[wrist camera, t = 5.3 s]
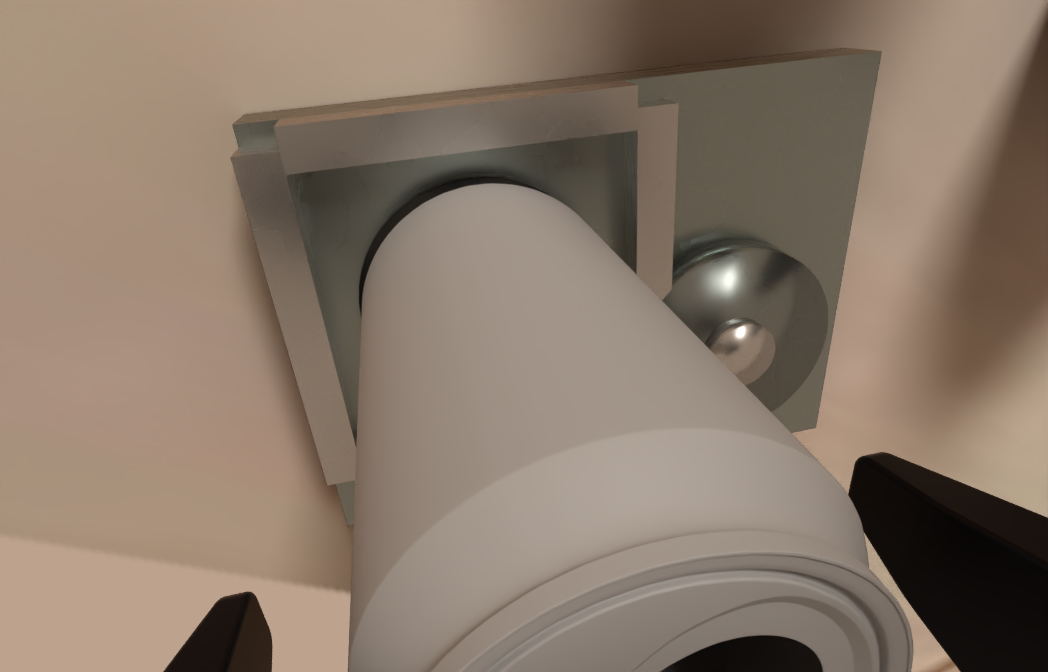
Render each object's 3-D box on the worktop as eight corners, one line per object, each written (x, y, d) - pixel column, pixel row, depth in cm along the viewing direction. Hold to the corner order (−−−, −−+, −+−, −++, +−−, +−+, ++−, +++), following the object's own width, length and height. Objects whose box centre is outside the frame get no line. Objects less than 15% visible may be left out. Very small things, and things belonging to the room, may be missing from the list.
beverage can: (636, 323, 18) (990, 746, 8) (445, 435, 19) (541, 982, 8) (533, 124, 15) (900, 387, 5) (307, 264, 15) (175, 799, 5)
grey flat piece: (843, 47, 18) (926, 55, 15) (790, 404, 23) (843, 454, 21) (244, 114, 15) (218, 137, 13) (349, 493, 21) (345, 563, 18)
